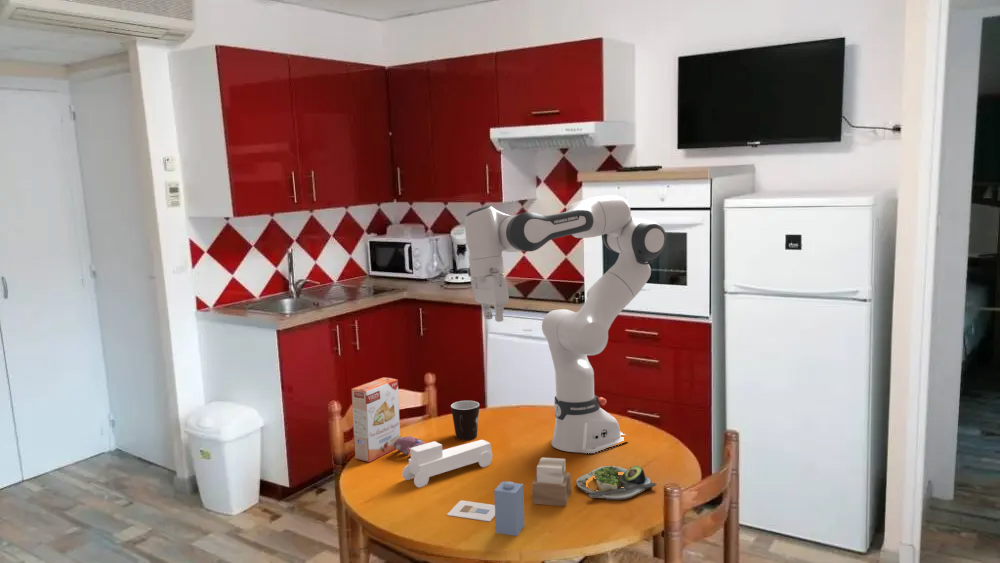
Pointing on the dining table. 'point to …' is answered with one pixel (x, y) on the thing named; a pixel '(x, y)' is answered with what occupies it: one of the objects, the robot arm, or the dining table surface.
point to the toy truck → (444, 459)
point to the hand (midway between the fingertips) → (494, 320)
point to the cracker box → (375, 418)
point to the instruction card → (473, 511)
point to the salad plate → (616, 482)
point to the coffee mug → (465, 419)
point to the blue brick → (509, 508)
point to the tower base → (552, 492)
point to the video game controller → (407, 444)
